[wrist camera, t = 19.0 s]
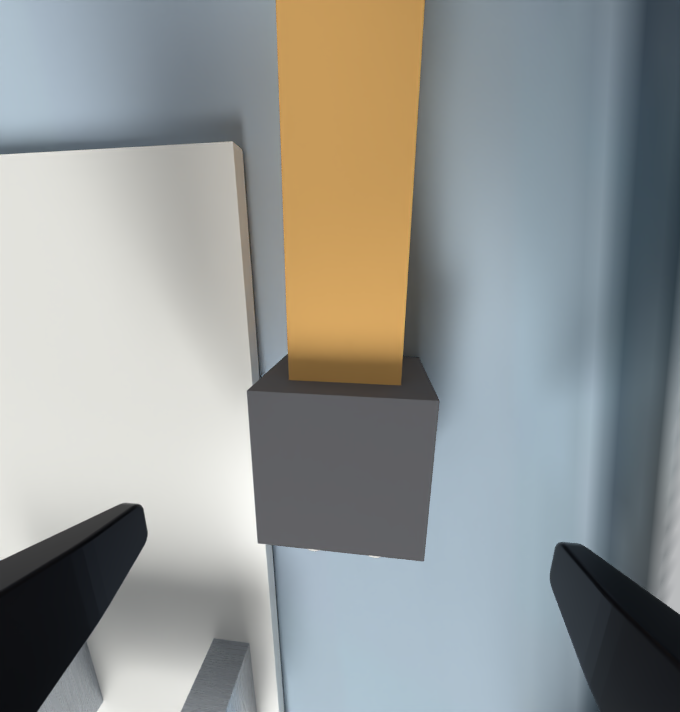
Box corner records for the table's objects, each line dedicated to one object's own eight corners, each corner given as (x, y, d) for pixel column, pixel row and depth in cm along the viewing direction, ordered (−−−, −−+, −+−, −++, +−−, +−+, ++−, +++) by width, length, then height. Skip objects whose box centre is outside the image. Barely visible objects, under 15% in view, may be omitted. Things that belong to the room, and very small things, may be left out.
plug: (447, -21, 7) (503, -262, 4) (407, 509, 11) (419, 610, 8) (278, -6, 8) (203, -211, 4) (294, 499, 11) (260, 590, 8)
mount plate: (242, 149, 9) (232, 141, 8) (298, 894, 18) (295, 914, 18) (-108, 168, 10) (-138, 162, 9) (117, 853, 20) (108, 870, 19)
